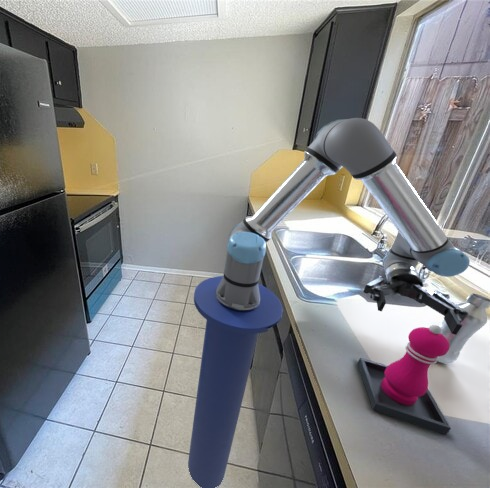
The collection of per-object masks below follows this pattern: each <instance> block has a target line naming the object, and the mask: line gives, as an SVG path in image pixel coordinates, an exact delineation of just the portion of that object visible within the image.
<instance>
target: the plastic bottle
mask: <svg viewBox="0 0 490 488" xmlns="http://www.w3.org/2000/svg"><path fill="white" fill-rule="evenodd" d="M465 300H466V301H461V302H458V303H455V304H456V305H457V306H459V307H460V308H462V309H463V310H465V311H466V312H468V315H467V316H466V318H465V319H464V321H462V322H461V324H462V327H461V328H460V330H459V331H458V333H457V334H456V335H455V334H452V333H451V331H450V329H449V327H448V325H447V324H446V322H445V320H444V319H443V320H442V322H441V324H440V325H439V327H440V328H441V329H442V332H441V334H442V335H443V336H445V337H446V339H447V340H448V342H449V350H448V352H447V353H446V354H445V355H443V356H439V359H438V360H437V362H438V363H441V364H443V365H449V364H453V363H454V362H455V361H457V360H458V358H459V356H460V353H461V351H462V349H463V348H464V346H465V345H466V343H467V342H468V341H469V340H470V339H471V337H472V336H473V335H474V334H476V333H477V332H478V331H480V329H482V328H483V327H484V326H485V325H487V323H488V314H487V311H486V309H489V308H490V298H488V297H486V296H483V295H481V294H478V293H475V292H474V293H473V292H472V293H470V294H469V295H468V296H467V297H466V299H465Z"/></svg>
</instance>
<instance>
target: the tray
mask: <svg viewBox="0 0 490 488" xmlns="http://www.w3.org/2000/svg"><path fill="white" fill-rule="evenodd" d="M356 363H357V367H358V370H359V373H360V376H361V379H362V382H363V385H364V388H365V390H366V393H367V397H368V399H369V403H370V406H371V408H372V411H375V412H378V413H381V414H384V415H386V416H390V417H393V418H396V419H398V420H401V421H403V422H404V421H405V422H407V423H409V424H410V423H411V424H413V425H416V426H420V427H423V428H425V429H427V430H431V431H434V432H437V433H440V434H442V435H447V434H448V433H449V432H450V431H451V429H452V428H451V426H450V424H449V422H448V421H447V419H446V417H445V415H444V414H443V412H442V411H441V409H440V407H439V405H438V403H437V401H436V400H435V398H434V397H433V394H432V392H431V391H430V389H429V388H428V389H427V391H426V393H425V394H424V395H423V396H419V397H418V399H417V401H416V402H415V404H413V405H403V404H400V403H398V402H396V401H394V400H393V399H391V398H390V397H389V396H388V395H387V394H386V393H385V392H384V391H383V389H382V387H381V382H382V381H383V379H384V378H385V369H386V368H387V367H388V365H387V364H384V363H380V362H377V361H372V360H370V359H366V358H363V357H359V359H358V361H357V362H356Z"/></svg>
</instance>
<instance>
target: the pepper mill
mask: <svg viewBox="0 0 490 488" xmlns="http://www.w3.org/2000/svg"><path fill="white" fill-rule="evenodd" d="M441 332H442V329H441V328H440V325H436V324H432V325H430V326H429V327H425V326H424V327H421V326H420V327H416V328H413V329H412V330H411V331H410V332H409V333H408V337H407V338H408V341H409V342H407V344H406V345H405V347H404V348H405V353H404V355H403V356H402V357H401V358H400V359H398V360H396V361H394V362H391V363H389V364H388V365H387V366H388V367H387V368H386V369H385V378H384V379H383V381H382V382H381V387H382V389H383V391H384V392H385V393H386V394H387V395H388V396H389V397H390V398H391V399H393V400H394V401H396V402H398V403H400V404H403V405H413V404H415V402H416V401H417V399H418V397H419V396H423V395H424V394H425V393H426V391H427V389H429V375H428V372H429V369H430V366H431V365H435V364H436V363H437V362H438V361H437V360H438V359H439V356H443V355H445V354H446V353H447V352H448V350H449V342H448V340H447V339H446V337H445V336H443V335H442V334H441Z"/></svg>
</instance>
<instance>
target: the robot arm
mask: <svg viewBox="0 0 490 488" xmlns="http://www.w3.org/2000/svg"><path fill="white" fill-rule="evenodd" d="M397 157H398V155H397V153H396V151H395V150H394V149H393V147H392V146H391V144H390V143H389V141H388V139H387V138H386V137H385V135H384V134H383V133H382V132H381V130H380V129H379V128H378V126H376V125H375V123H374V122H372V121H370V120H368V119H366V118H363V117H353V118H340V119H336V120H332V121H331V122H328V123H327V124H325V125H324V126H322V128H320V129H319V130H318V132H317V133H316V134H315V136H314V138H313V141H312V142H311V143H310V144H309V146H308V147H307V148H306V149H305V150H304V152H303V160H302V161H301V162H300V163H299V164H298V165H297V166H296V167H295V169H294V170H293V171H292V172H291V173H290V174H289V175H288V176H287V177H286V178H285V180H284V181H283V182H282V183H281V184H280V185H279V186H278V187H277V188H276V190H274V192H273V193H271V195H270V196H269V197H268V198H267V199H266V200H265V202H264V203H263V204H262V205H261V206H260V207H259V208H258V210H256V212H255V213H253V215H251V216H249V215H248V216H245V218H244V219H243V220H242V221H240V223H237V224H235V226H233V228H232V229H231V230H230V232H229V235H228V242H227V246H226V248H227V249H226V255H225V263H224V269H223V275H222V276H223V278H222V280H221V282H220V283H219V285H218V287H217V289H216V294H215V297H216V299H217V301H218V302H219V303H220V304H221V305H222V306H224V307H225V308H228V309H230V310H233V311H237V312H250V311H253V310H255V309H257V308H258V307H259V304H260V293H259V287H258V284H259V280H260V276H261V273H262V268H263V264H264V263H263V262H264V258H265V256H266V252H267V251H266V250H267V249H266V248H267V243H268V242H269V241H270V240H271V239H272V232H273V231H274V229H276V228H277V227H278V226H279V225H280V223H282V222H283V220H284V219H286V218H287V216H288V215H290V213H291V212H293V210H295V208H296V207H297V206H298V205H299V204H300V203H301V202H302V201H304V199H306V197H307V196H308V195H309V194H310V193H311V192H312V191H313V190H314V189H315V188H316V187H317V186H318V185H319V184H320V183H321V182H322V181H323V180H324V179H325V178H326V177H328V176H333V175H336V174H337V173H338V172H339V171H340V170H341V169H342V168H344V169H345V170H346V171H347V172H348V173H349V174H350V175H351V176H352V178H353V179H354V180H355V181H356V180H359V181H361V182H362V184H363V185H364V186H365V188H366V189H367V190H368V192H369V193H370V194H371V196H372V197H373V199H374V200H375V201H376V202H377V203H376V204H378V205H379V207H380V208H381V209H382V211H383V212H384V214H385V215H386V216H387V218H388V219H389V220H390V222H391V223H392V224H393V226H394V227H395V229H396V230H397V234H396V237H395V239H394V241H393V244H392V246H391V248H390V250H389V252H388V253H387V254H386V255H385V256H384V257H383V259H382V268H383V270H384V274H385V277H386V278H384V277H383V276H382V275H377V278H376V279H374V280H372V281H370V282H367V283H366V284H365V286H364V289H363V290H362V292H363V293H364V294H370V296H369V298H370V299H372V301H374V302H376V307H377V311H379V312H383V309H384V308H385V306H386V303H387V302H386V297H385V296H390V295H391V296H400V297H407V298H409V299H412V300H414V301H415V302H417V303H419V304H424V305H425V306H427V307H429V308H430V309H432V310H433V311H435V312H437V313H439V314H440V315H442V316H444V317H443V321H444V320H445V322H446V324H447V325H448V327H449V329H450V331H451V333H452V334H455V335H456V334H457V333H458V331H459V330H460V328H461V327H462V324H461V322H462V321H464V319H465V318H466V316H467V315H468V312H466V311H465V310H463V309H462V308H460V307H459V306H457V305H456V304H457V303H454V302H453V301H452V300H450V299H449V298H447V297H446V296H444V295H443V294H442V292H441V291H439V290H434V291H433V292H431V291H428V290H427V289H426V288H425V287H424V283H423V280H422V278H421V276H420V274H419V272H418V270H417V266H418V263H420V264H421V265H423V266H424V267H425V268H427V269H426V270H428V271H430V272H432V273H434V274H435V275H438V276H440V277H444V278H446V277H447V278H450V277H454V276H458V275H460V274H462V273H464V272H465V271H467V269H468V268H469V266H470V264H471V263H470V258H469V256H468V255H467V254H466V253H464V252H463V251H462V250H461V249H459V248H456V247H455V246H454V244H453V243H452V242H451V240H450V239H449V238H448V236H447V235H446V233H445V232H444V231H443V229H442V228H441V226H440V225H439V223H438V222H437V220H436V219H435V217H434V216H433V215H432V212H431V211H430V210H429V208H427V206H426V205H425V203H424V202H423V200H422V199H421V198H420V196H419V195H418V193H417V191H416V190H415V188H414V187H413V186H412V184H411V183H410V181H409V180H408V179H407V178H406V176H405V174H404V173H403V171H402V170H401V168H400V167H399V166H398V164H397V163H396V159H397Z"/></svg>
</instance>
